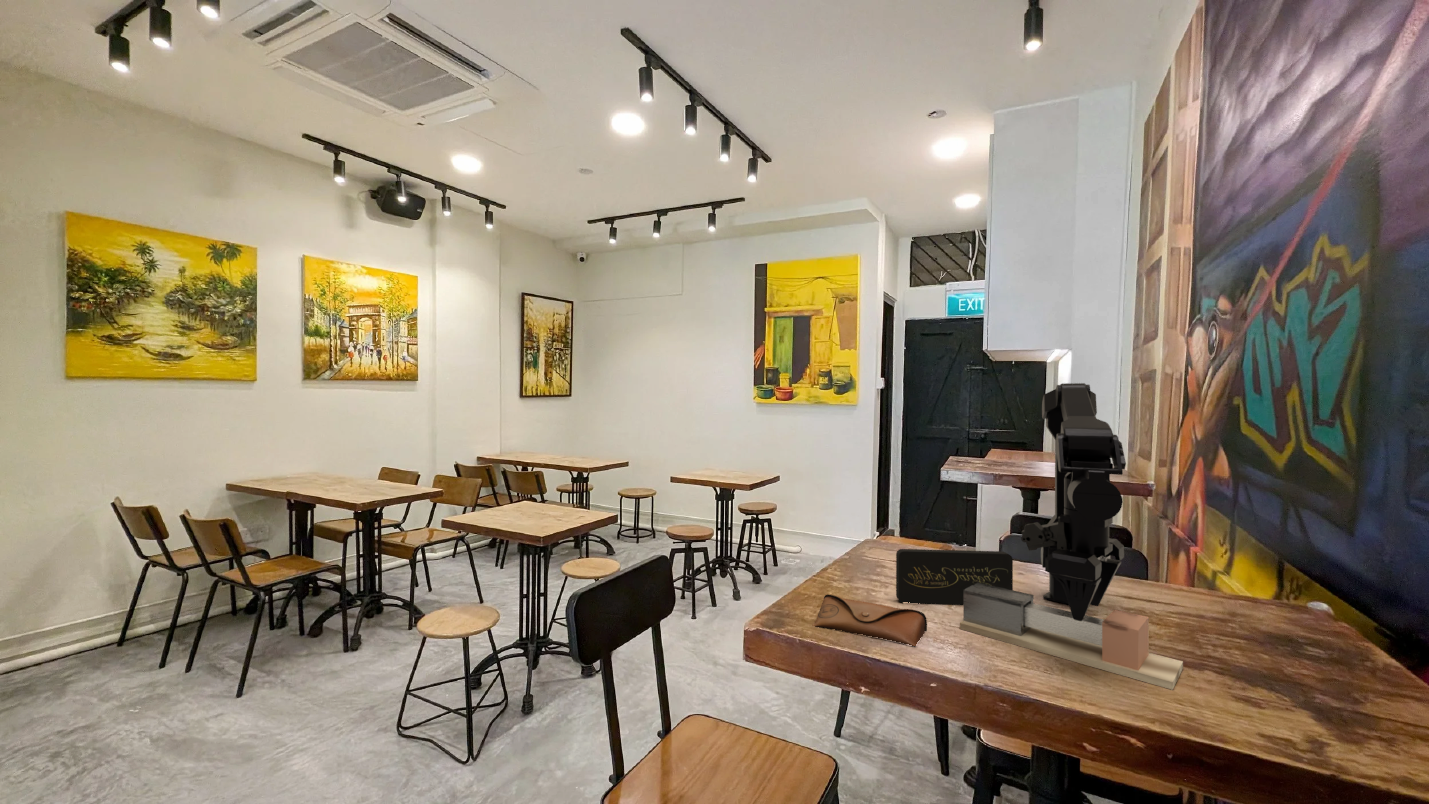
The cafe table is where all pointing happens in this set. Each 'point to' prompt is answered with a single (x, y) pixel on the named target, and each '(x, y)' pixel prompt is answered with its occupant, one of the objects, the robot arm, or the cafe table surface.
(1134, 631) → the terracotta socket
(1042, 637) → the base board
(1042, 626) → the silver rectangular bar
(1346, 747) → the cafe table surface
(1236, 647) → the cafe table surface
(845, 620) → the sunglasses case
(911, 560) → the nameplate
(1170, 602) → the cafe table surface
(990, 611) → the grey sleeve
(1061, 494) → the robot arm
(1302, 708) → the cafe table surface
